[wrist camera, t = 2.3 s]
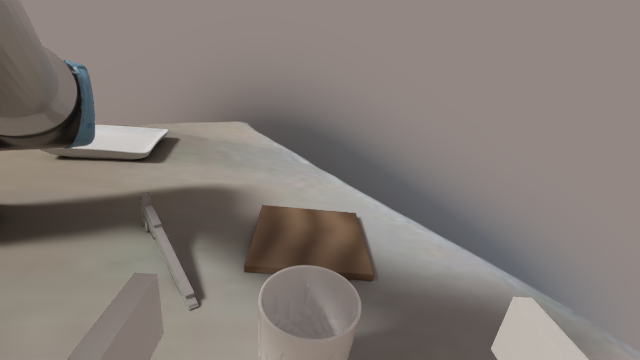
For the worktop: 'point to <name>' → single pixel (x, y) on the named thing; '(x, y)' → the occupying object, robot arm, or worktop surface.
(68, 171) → the worktop surface
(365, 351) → the worktop surface
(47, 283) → the worktop surface
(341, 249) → the walnut board
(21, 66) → the robot arm
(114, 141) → the salad plate
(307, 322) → the white cup
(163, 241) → the caliper
